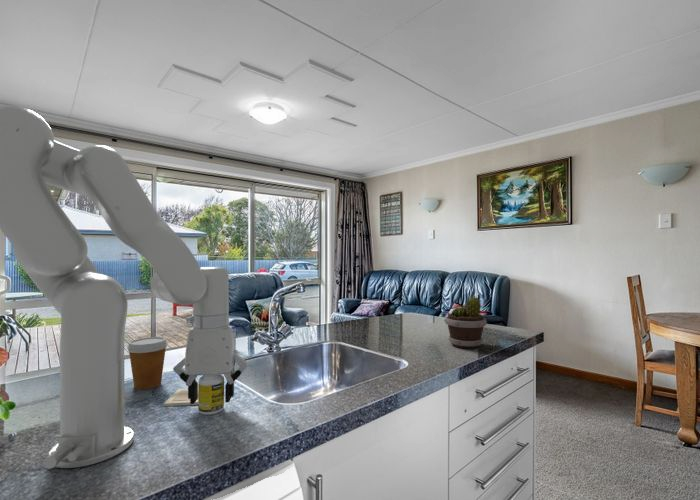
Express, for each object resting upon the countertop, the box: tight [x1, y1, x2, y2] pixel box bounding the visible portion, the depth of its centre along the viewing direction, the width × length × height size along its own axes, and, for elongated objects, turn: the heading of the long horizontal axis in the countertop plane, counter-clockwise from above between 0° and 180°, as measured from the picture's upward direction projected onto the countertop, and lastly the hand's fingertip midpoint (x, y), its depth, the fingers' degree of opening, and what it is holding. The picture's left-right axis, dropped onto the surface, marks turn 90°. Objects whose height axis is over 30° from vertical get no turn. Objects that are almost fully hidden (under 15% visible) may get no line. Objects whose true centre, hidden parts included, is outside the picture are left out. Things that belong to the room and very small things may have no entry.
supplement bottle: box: [197, 374, 225, 416], centre depth 81 cm, size 5×5×10 cm
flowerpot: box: [443, 293, 488, 349], centre depth 136 cm, size 14×15×20 cm
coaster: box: [163, 387, 199, 407], centre depth 88 cm, size 9×9×1 cm
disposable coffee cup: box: [126, 336, 168, 391], centre depth 97 cm, size 10×10×12 cm
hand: (211, 400), depth 81 cm, fingers open, 6 cm apart
